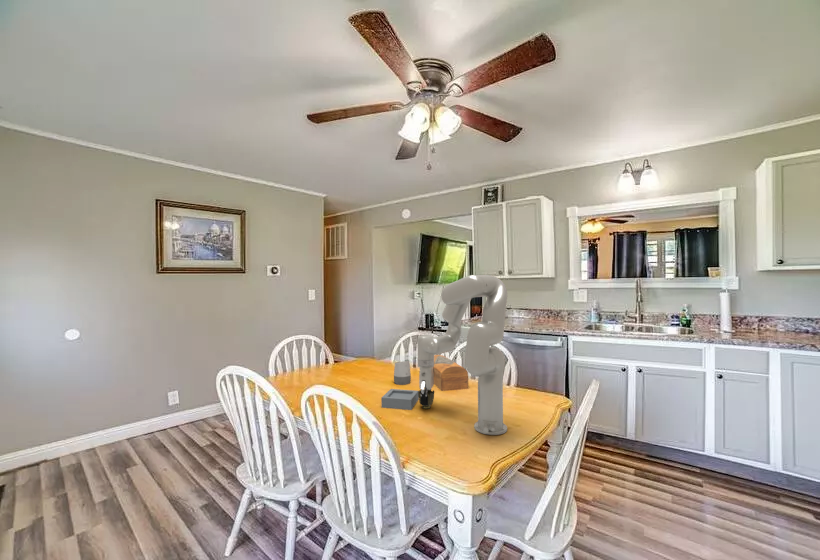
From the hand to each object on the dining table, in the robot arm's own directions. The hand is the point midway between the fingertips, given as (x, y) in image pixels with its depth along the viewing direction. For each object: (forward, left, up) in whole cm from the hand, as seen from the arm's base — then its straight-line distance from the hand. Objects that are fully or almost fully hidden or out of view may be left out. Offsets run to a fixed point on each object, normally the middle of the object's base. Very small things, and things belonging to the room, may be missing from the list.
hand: (426, 401), depth 167 cm
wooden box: (+40, -2, -3) cm, 41 cm away
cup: (0, 0, -3) cm, 3 cm away
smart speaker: (+34, +21, -3) cm, 40 cm away
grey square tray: (+3, +13, -3) cm, 14 cm away
